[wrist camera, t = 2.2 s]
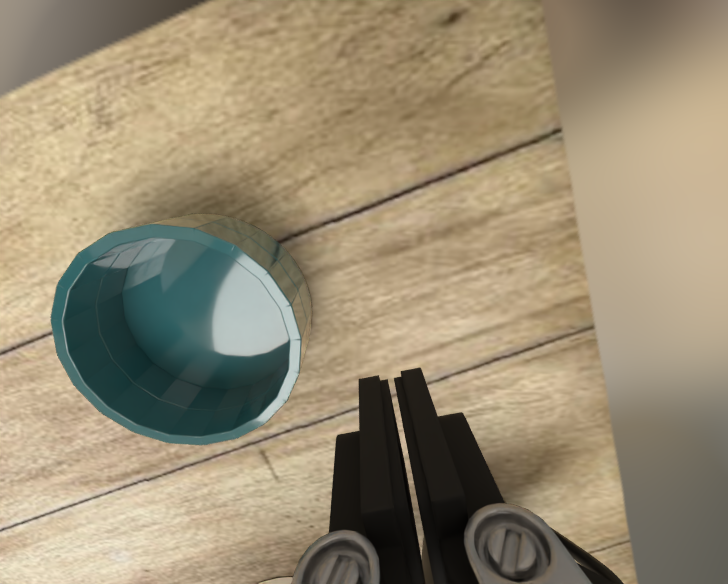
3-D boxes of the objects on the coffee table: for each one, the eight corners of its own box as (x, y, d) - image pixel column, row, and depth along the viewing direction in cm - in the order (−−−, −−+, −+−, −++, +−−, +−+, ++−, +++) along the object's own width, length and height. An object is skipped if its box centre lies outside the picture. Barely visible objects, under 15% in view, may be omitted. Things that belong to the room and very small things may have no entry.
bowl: (108, 202, 19) (29, 211, 15) (318, 224, 20) (307, 239, 15) (129, 384, 23) (71, 437, 18) (306, 396, 24) (295, 451, 19)
